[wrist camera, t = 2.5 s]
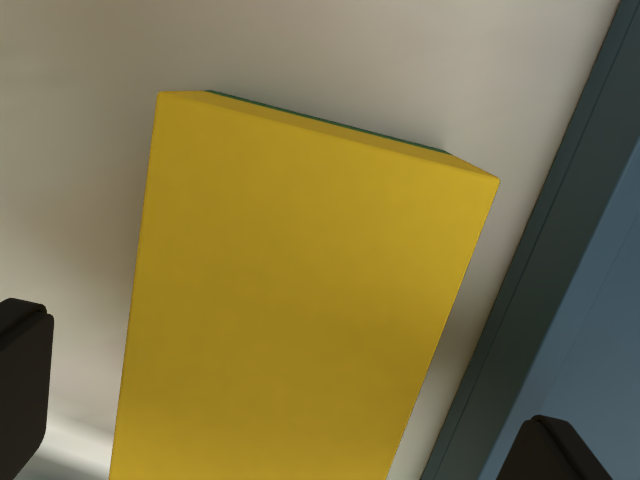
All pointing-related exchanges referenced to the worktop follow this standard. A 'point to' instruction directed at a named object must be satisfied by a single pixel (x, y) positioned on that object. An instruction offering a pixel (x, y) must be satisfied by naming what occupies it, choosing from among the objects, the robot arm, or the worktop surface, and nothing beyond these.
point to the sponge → (285, 292)
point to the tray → (567, 293)
